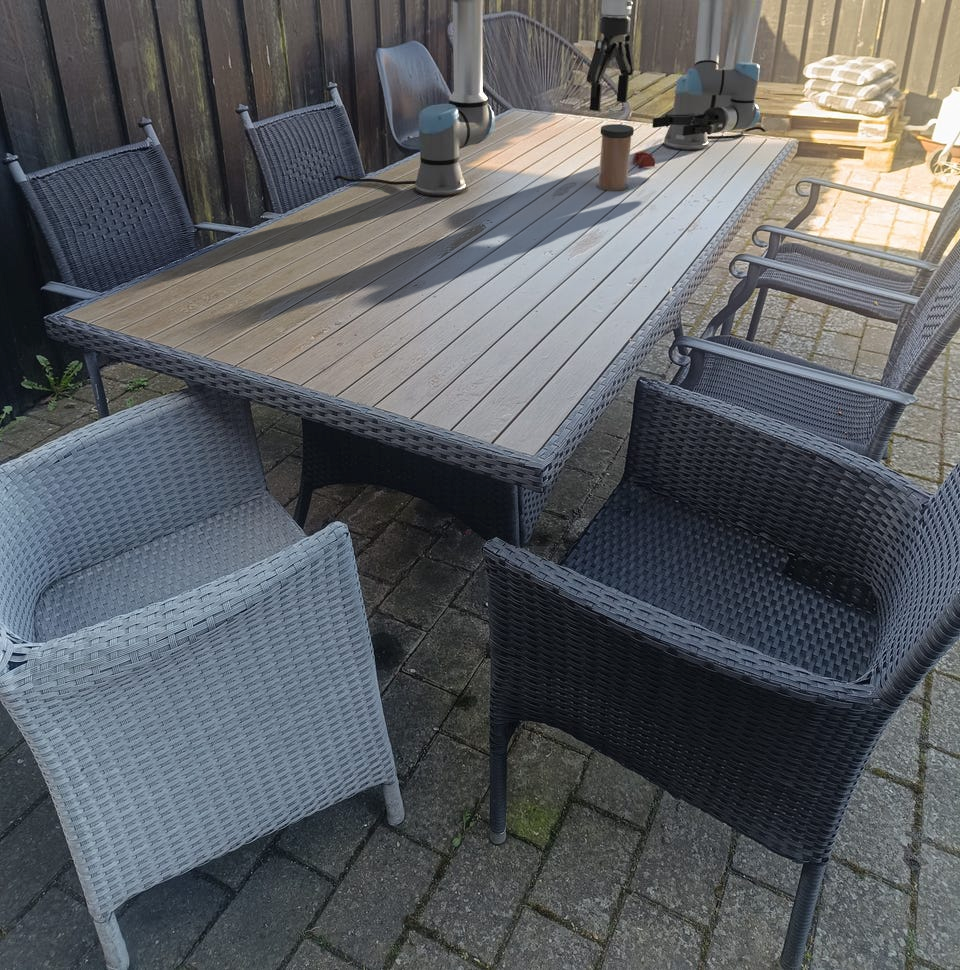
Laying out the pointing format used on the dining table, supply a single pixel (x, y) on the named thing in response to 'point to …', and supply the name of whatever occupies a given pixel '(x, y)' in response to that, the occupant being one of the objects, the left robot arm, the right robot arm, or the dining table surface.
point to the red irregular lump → (644, 159)
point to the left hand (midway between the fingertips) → (608, 106)
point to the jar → (614, 163)
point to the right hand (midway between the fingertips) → (668, 126)
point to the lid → (617, 131)
